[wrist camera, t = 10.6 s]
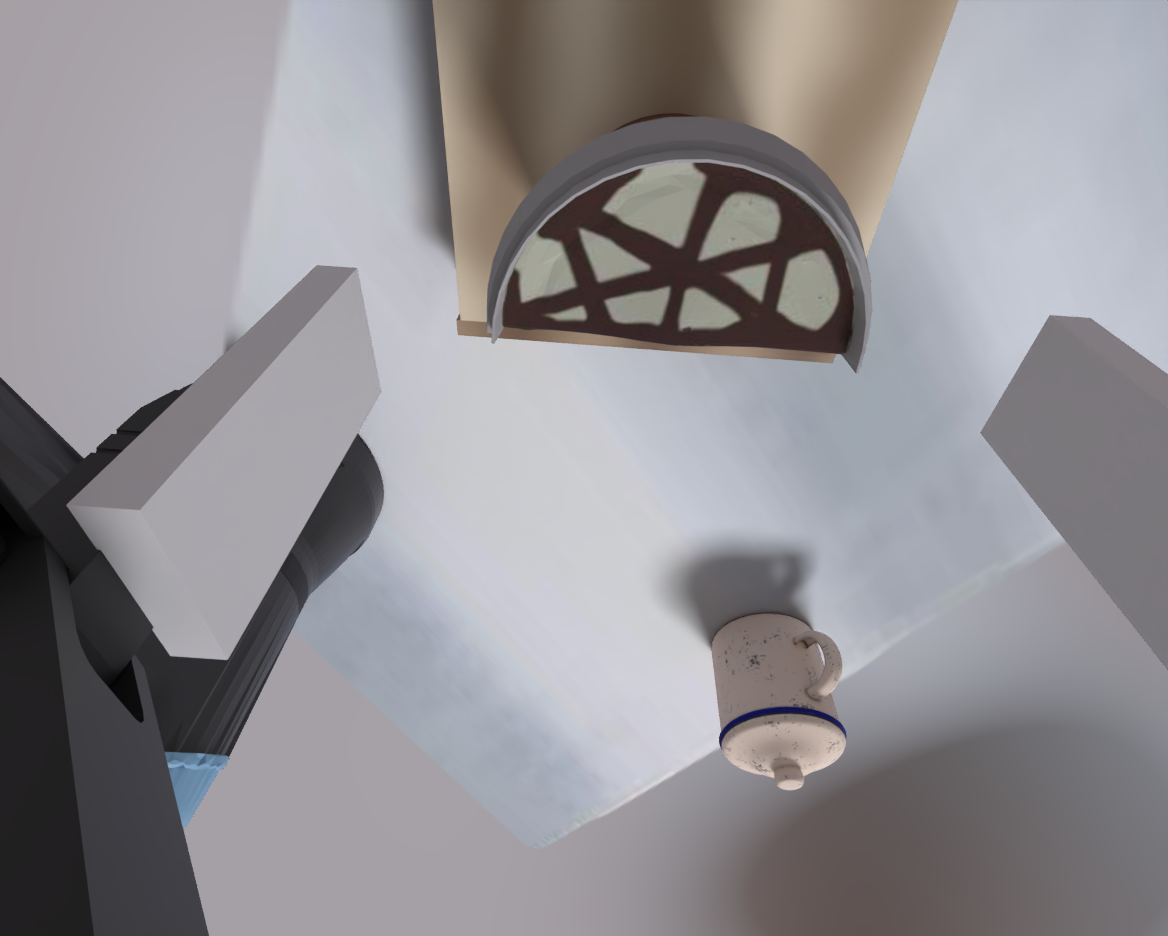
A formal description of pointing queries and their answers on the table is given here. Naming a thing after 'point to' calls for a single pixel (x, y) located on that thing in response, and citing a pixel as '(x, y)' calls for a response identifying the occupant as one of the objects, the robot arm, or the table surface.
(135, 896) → the robot arm
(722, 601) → the table surface
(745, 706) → the teacup with lid
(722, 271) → the food container
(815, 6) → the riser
